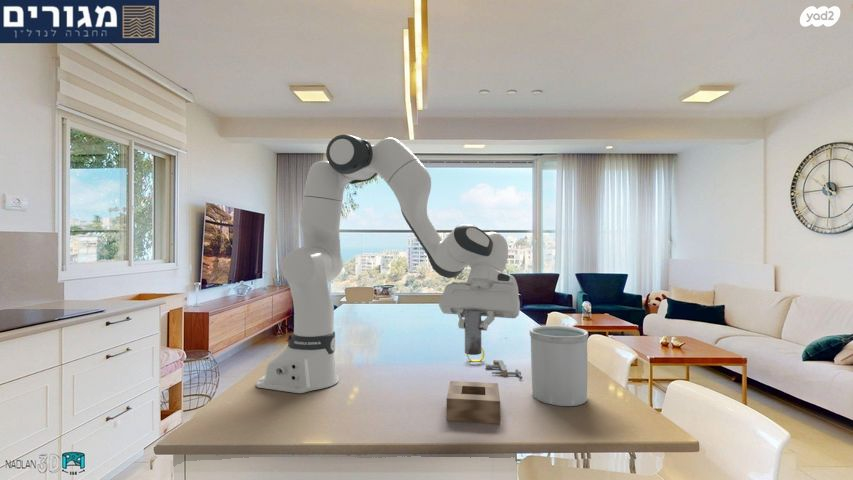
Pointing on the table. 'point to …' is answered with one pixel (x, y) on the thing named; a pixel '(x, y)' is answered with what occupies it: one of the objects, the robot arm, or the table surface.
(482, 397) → the socket
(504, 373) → the clamp
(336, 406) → the table surface
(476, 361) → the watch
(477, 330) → the peg
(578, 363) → the utensil holder
